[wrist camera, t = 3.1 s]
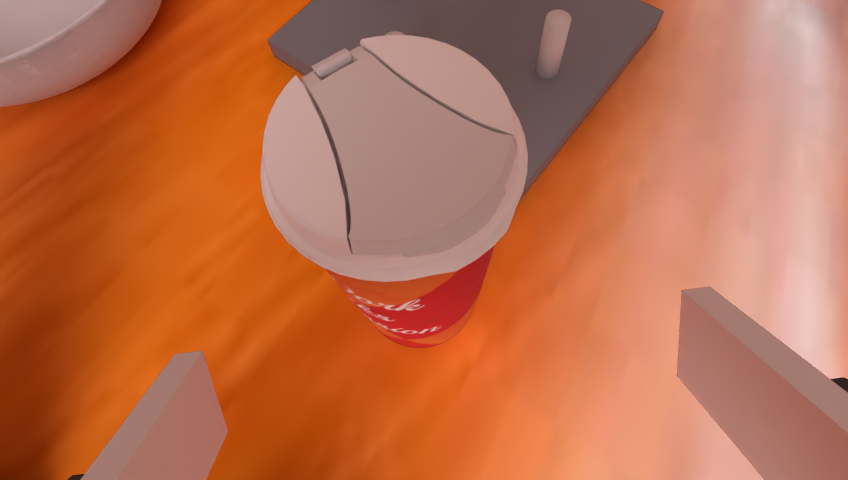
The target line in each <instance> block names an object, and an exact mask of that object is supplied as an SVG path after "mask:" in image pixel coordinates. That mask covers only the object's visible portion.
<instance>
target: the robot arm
mask: <svg viewBox="0 0 848 480" xmlns="http://www.w3.org/2000/svg"><path fill="white" fill-rule="evenodd" d="M677 376H678V378H679V379H680V380H681V381H682V382H683V384H684V385H685V386H686V387H687V388H688V390H689V391H690V392H691V393H692V394H693V395H694V397H695V398H696V399H697V400H698V401H699V403H700V404H701V405H702V406H703V407H704V409H705V410H706V411H707V412H708V413H709V414H710V416H711V417H712V418H713V419H714V420H715V422H716V423H717V424H718V425H719V426H720V428H721V429H722V430H723V431H724V432H725V433H726V435H727V436H728V437H729V438H730V439H731V441H732V442H733V443H734V444H735V445H736V447H737V448H738V449H739V450H740V451H741V452H742V454H743V455H744V456H745V457H746V458H747V460H748V461H749V462H750V463H751V464H752V466H753V467H754V468H755V469H756V470H757V471H758V473H759V474H760V475H761V476H762V477H763V479H764V480H848V379H846V378H836V379H829V378H828V377H827V376H825V375H824V374H823V373H821V372H820V371H819V370H818V369H816V368H815V367H814V366H812V365H811V364H810V363H808V362H807V361H806V360H805V359H803V358H802V357H801V356H799V355H798V354H797V353H795V352H794V351H793V350H792V349H790V348H789V347H788V346H786V345H785V344H784V343H782V342H781V341H780V340H779V339H777V338H776V337H775V336H773V335H772V334H771V333H769V332H768V331H767V330H766V329H764V328H763V327H762V326H760V325H759V324H758V323H756V322H755V321H754V320H753V319H751V318H750V317H749V316H747V315H746V314H745V313H743V312H742V311H741V310H740V309H738V308H737V307H736V306H734V305H733V304H732V303H730V302H729V301H728V300H727V299H725V298H724V297H723V296H721V295H720V294H719V293H717V292H716V291H715V290H714V289H712V288H711V287H703V288H695V289H687V290H682V295H681V312H680V329H679V347H678V364H677ZM227 433H228V430H227V427H226V424H225V421H224V418H223V414H222V411H221V408H220V405H219V402H218V398H217V395H216V392H215V389H214V386H213V382H212V379H211V376H210V373H209V370H208V366H207V363H206V360H205V357H204V354H203V351H196V352H188V353H180V354H175V355H174V356H173V357H172V359H171V360H170V361H169V362H168V364H167V365H166V366H165V368H164V369H163V370H162V372H161V373H160V374H159V376H158V377H157V378H156V380H155V381H154V382H153V384H152V385H151V386H150V388H149V389H148V390H147V392H146V393H145V394H144V396H143V397H142V398H141V400H140V401H139V402H138V404H137V405H136V406H135V408H134V409H133V410H132V412H131V413H130V414H129V416H128V417H127V418H126V420H125V421H124V422H123V424H122V425H121V426H120V428H119V429H118V430H117V432H116V433H115V434H114V436H113V437H112V438H111V440H110V441H109V442H108V444H107V445H106V446H105V448H104V449H103V450H102V452H101V453H100V454H99V456H98V457H97V458H96V460H95V461H94V462H93V464H92V465H91V466H90V468H89V469H88V470H87V472H86V473H85V474H80V475H72V476H71V477H70V478H69V479H68V480H206V479H207V476H208V474H209V472H210V470H211V468H212V466H213V463H214V461H215V459H216V457H217V455H218V453H219V450H220V448H221V446H222V444H223V442H224V439H225V437H226V435H227Z"/></svg>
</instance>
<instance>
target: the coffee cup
mask: <svg viewBox="0 0 848 480" xmlns="http://www.w3.org/2000/svg"><path fill="white" fill-rule="evenodd" d="M360 46H361V47H359V46H358V47H356V48H354V49H353V50H351V51H348V50H347V49H345V48H344V49H342V50H340V51H339V52H337V53H335V54H333V55H331V56H329V57H328V58H326V59H324V60H322V61H320V62H318V63H316V64H315V65H313V66H312V68H313V70H314V71H312V72H310V73H308V74H307V75H305V76H303V77H301V79H302V82H301V81H300V80H299V78H298V77H297V75H295V76H294V77H293V78H292V79H291V81H290V82H289V83H288V84H287V85H286V86H285V88H284V89H283V90H282V92H281V93H280V95H279V96H278V98H277V99H276V101H275V103H274V105H273V108H272V110H271V112H270V114H269V117H268V120H267V124H266V127H265V131H264V137H263V148H262V152H263V154H262V162H261V172H260V175H261V186H262V193H263V197H264V200H265V204H266V207H267V210H268V212H269V214H270V216H271V218H272V220H273V222H274V224H275V226H276V227H277V228H278V230H279V231H280V232H281V234H282V235H283V236H284V238H285V239H286V240H287V242H288V243H290V244H291V245H292V246H293V247H294V248H295V249H296V250H297V251H298V252H300V253H301V254H302V255H303V256H304V257H306V258H308V259H309V260H311V261H312V262H314V263H316V264H317V265H319V266H320V267H323V268H325V269H326V270H327V271H328V273H329V274H330V275H331V276H332V277H333V279H334V280H335V281H336V282H337V283H338V284H339V286H340V287H341V288H342V289H343V290H344V292H345V293H346V294H347V295H348V296H349V298H350V299H351V300H352V301H353V302H354V303H355V305H356V306H357V307H358V308H359V309H360V310H361V312H362V313H363V314H364V315H365V316H366V317H367V318H368V320H369V321H370V322H371V323H372V324H373V325H374V326H375V327H376V328H377V329H378V330H379V331H380V332H381V333H382V334H383V335H385V336H386V337H387V338H389V339H390V340H392V341H394V342H396V343H398V344H401V345H404V346H408V347H414V348H425V347H431V346H435V345H438V344H441V343H443V342H445V341H447V340H449V339H450V338H452V337H453V336H455V335H456V334H457V333H458V332H459V331H460V330H461V329H462V328H463V327H464V325H465V324H466V323H467V321H468V319H469V317H470V316H471V313H472V311H473V309H474V306H475V304H476V301H477V298H478V295H479V292H480V289H481V286H482V283H483V280H484V277H485V274H486V271H487V267H488V264H489V261H490V258H491V255H492V251H493V248H494V245H495V244H496V243H497V242H498V241H499V239H500V238H501V237H502V236H503V235H504V234H505V233H506V232H507V231H508V228H509V225H510V223H511V220H512V217H513V215H514V212H515V209H516V207H517V205H518V202H519V200H520V197H521V195H522V193H523V189H524V185H525V180H526V176H527V164H528V152H527V146H526V139H525V135H524V132H523V129H522V126H521V124H520V121H519V119H518V117H517V115H516V113H515V112H514V110H513V108H512V106H511V105H510V102H509V99H508V97H507V95H506V94H505V92H504V90H503V88H502V87H501V85H500V83H499V82H498V81H497V80H496V79H495V77H494V76H493V75H492V74H491V73H490V71H489V70H488V69H486V68H485V67H484V66H483V65H482V64H481V63H480V62H478V61H477V60H476V59H475V58H473V57H472V56H470V55H468V54H467V53H465V52H464V51H462V50H460V49H458V48H456V47H453V46H451V45H449V44H446V43H443V42H440V41H437V40H433V39H430V38H424V37H418V36H411V35H386V36H375V37H370V38H365V39H361V41H360Z"/></svg>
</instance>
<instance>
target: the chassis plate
mask: <svg viewBox="0 0 848 480" xmlns="http://www.w3.org/2000/svg"><path fill="white" fill-rule="evenodd" d="M663 13H664V11H662V10H660V9H658V8H655V7H653V6H651V5H649V4H647V3H644V2H642V1H640V0H312V1H311V2H310V3H309V4H308V5H307V6H306V7H304V8H303V9H302V10H301V11H300V12H299V13H298V14H296V15H295V16H294V17H293V18H292V19H291V20H290V21H288V22H287V23H286V24H285V25H284V26H283V27H282V28H280V29H279V30H278V31H277V32H276V33H275V34H274V35H272V36H271V37H270V38H269V39H268V43H269V45H270V47H271V49H272V52H273V54H274V56H275V57H276V58H278V59H279V60H281V61H283V62H284V63H286V64H287V65H289V66H291V67H292V68H294V69H295V70H297V71H299V72H300V73H302V74H303V75H307V74H308V73H310V72H312V71H314V70H313V68H312V66H313V65H315V64H316V63H318V62H320V61H322V60H324V59H326V58H328V57H329V56H331V55H333V54H335V53H337V52H339V51H340V50H342V49H344V48H345V49H347V50H348V51H351V50H353V49H354V48H356V47H358V46H359V47H361V46H360V41H361V39H365V38H370V37H375V36H386V35H411V36H418V37H424V38H430V39H433V40H437V41H440V42H443V43H446V44H449V45H451V46H453V47H456V48H458V49H460V50H462V51H464V52H465V53H467V54H468V55H470V56H472V57H473V58H475V59H476V60H477V61H478V62H480V63H481V64H482V65H483V66H484V67H485V68H486V69H488V70H489V71H490V73H491V74H492V75H493V76H494V77H495V79H496V80H497V81H498V82H499V83H500V85H501V87H502V88H503V90H504V92H505V94H506V95H507V97H508V99H509V102H510V105H511V106H512V108H513V110H514V112H515V113H516V115H517V117H518V119H519V121H520V124H521V126H522V129H523V132H524V135H525V139H526V146H527V152H528V164H527V176H526V180H525V185H524V189H523V193H522V195H521V197H520V200H521V198H522V197H523V196H524V195H525V193H526V192H527V191H528V190H529V188H530V187H531V186H532V184H533V183H534V182H535V181H536V179H537V178H538V177H539V176H540V174H541V173H542V172H543V171H544V169H545V168H546V167H547V166H548V164H549V163H550V162H551V161H552V159H553V158H554V157H555V156H556V154H557V153H558V152H559V151H560V149H561V148H562V147H563V146H564V144H565V143H566V142H567V141H568V139H569V138H570V137H571V135H572V134H573V133H574V132H575V130H576V129H577V128H578V127H579V125H580V124H581V123H582V122H583V120H584V119H585V118H586V117H587V115H588V114H589V113H590V112H591V110H592V109H593V108H594V107H595V105H596V104H597V103H598V102H599V100H600V99H601V98H602V97H603V95H604V94H605V93H606V92H607V90H608V89H609V88H610V86H611V85H612V84H613V83H614V81H615V80H616V79H617V78H618V76H619V75H620V74H621V73H622V71H623V70H624V69H625V68H626V66H627V65H628V64H629V63H630V61H631V60H632V59H633V58H634V56H635V55H636V54H637V53H638V51H639V50H640V49H641V48H642V46H643V45H644V44H645V43H646V41H647V40H648V39H649V37H650V36H651V35H652V34H653V32H654V31H655V30H656V28H657V26H658V24H659V22H660V19H661V17H662V15H663ZM520 200H519V201H520Z"/></svg>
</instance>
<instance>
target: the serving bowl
mask: <svg viewBox="0 0 848 480" xmlns="http://www.w3.org/2000/svg"><path fill="white" fill-rule="evenodd" d="M161 2H162V0H0V107H6V106H15V105H21V104H27V103H32V102H36V101H40V100H43V99H47V98H50V97H53V96H56V95H59V94H61V93H64V92H67V91H69V90H71V89H74V88H76V87H78V86H80V85H82V84H84V83H86V82H87V81H89V80H91V79H93V78H95V77H96V76H98V75H99V74H101V73H103V72H104V71H106V70H107V69H108V68H110V67H111V66H112V65H114V64H115V63H116V62H117V61H119V60H120V59H121V58H122V57H123V56H125V55H126V54H127V53H128V52H129V51H130V50H131V49H132V48H133V47H134V46H135V45H136V43H137V42H138V41H139V40H140V39H141V37H142V36H143V35H144V33H145V32H146V31H147V29H148V28H149V26H150V25H151V23H152V21H153V20H154V18H155V16H156V14H157V12H158V10H159V7H160V5H161Z"/></svg>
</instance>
